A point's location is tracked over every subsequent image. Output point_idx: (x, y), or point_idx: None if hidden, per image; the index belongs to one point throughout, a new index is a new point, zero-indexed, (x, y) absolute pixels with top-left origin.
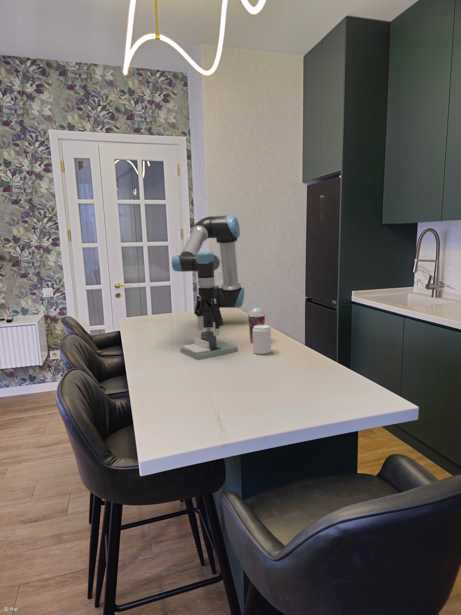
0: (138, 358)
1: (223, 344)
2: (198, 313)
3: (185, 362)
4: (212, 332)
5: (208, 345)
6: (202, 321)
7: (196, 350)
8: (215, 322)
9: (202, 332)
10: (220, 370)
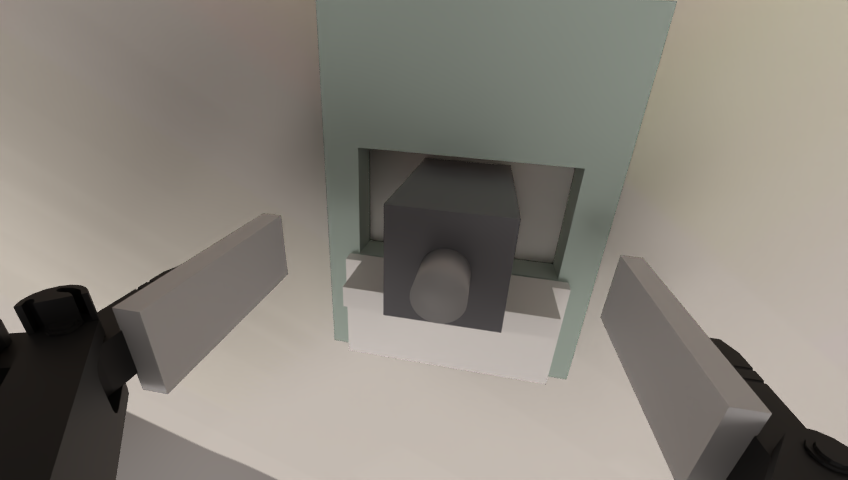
0: (316, 473)
1: (482, 59)
2: (116, 450)
3: (535, 414)
4: (476, 240)
5: (555, 308)
6: (214, 275)
7: (509, 361)
8: (730, 465)
9: (392, 305)
10: (843, 405)
